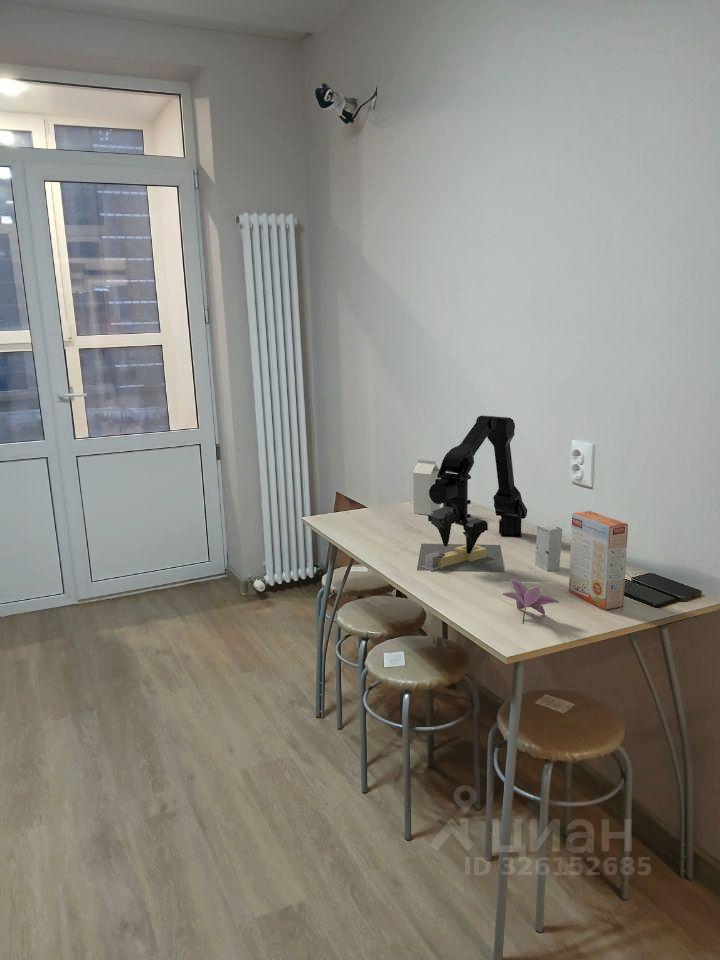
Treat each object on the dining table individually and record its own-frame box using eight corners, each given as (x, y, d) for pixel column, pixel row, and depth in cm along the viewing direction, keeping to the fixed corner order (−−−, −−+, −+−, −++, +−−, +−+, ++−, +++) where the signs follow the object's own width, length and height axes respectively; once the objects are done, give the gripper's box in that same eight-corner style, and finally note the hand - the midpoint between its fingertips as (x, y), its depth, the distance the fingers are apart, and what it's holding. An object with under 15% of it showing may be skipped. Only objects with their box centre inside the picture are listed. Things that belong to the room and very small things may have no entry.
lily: (563, 629, 171) (566, 587, 173) (527, 620, 165) (530, 577, 167) (524, 628, 180) (527, 589, 183) (488, 620, 174) (492, 579, 177)
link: (470, 551, 223) (470, 543, 223) (486, 556, 218) (486, 548, 218) (429, 563, 213) (429, 554, 213) (445, 569, 208) (445, 560, 208)
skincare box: (534, 566, 210) (535, 524, 208) (547, 563, 212) (548, 522, 209) (547, 572, 205) (549, 529, 202) (561, 570, 206) (562, 527, 204)
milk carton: (430, 515, 265) (430, 463, 261) (413, 513, 269) (412, 461, 265) (440, 511, 271) (440, 459, 267) (422, 508, 275) (422, 457, 271)
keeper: (431, 571, 207) (431, 558, 206) (421, 567, 210) (421, 555, 209) (446, 567, 210) (446, 554, 209) (435, 563, 213) (435, 550, 213)
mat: (500, 545, 229) (500, 544, 229) (504, 573, 205) (504, 572, 205) (421, 544, 232) (421, 543, 232) (416, 571, 208) (416, 570, 208)
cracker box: (625, 607, 180) (629, 523, 175) (604, 611, 177) (608, 526, 173) (587, 588, 192) (591, 509, 188) (567, 592, 190) (571, 512, 186)
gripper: (413, 495, 214) (414, 548, 217) (460, 507, 199) (460, 563, 203) (442, 489, 220) (442, 540, 224) (489, 500, 206) (488, 555, 209)
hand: (457, 549), depth 215 cm, fingers open, 9 cm apart
